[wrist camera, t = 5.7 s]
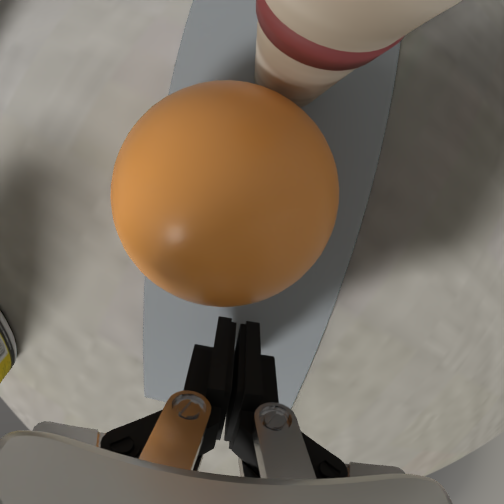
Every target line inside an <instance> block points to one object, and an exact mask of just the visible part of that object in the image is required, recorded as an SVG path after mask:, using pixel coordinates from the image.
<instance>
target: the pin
mask: <svg viewBox="0 0 504 504" xmlns="http://www.w3.org/2000/svg"><path fill="white" fill-rule="evenodd" d="M460 1H462V0H256V15H257V19H258V22H257V39H256V55H255V72H254V79H255V84H257V85H261V86H264V87H266V88H269V89H271V90H273V91H276V92H278V93H280V94H281V95H283V96H285V97H286V98H288V99H290V100H291V101H292V102H294V103H295V104H296V105H297V106H299V107H300V108H301V107H304V106H306V105H308V104H309V103H311V102H312V101H313V100H315V99H316V98H317V97H319V96H320V95H321V94H322V93H324V92H325V91H326V90H328V89H329V88H330V87H332V86H333V85H334V84H336V83H337V82H338V81H340V80H341V79H342V78H344V77H345V76H347V75H348V74H349V73H351V72H352V71H353V70H355V69H356V68H359V67H361V66H364V65H366V64H367V63H369V62H371V61H372V60H374V59H375V58H377V57H378V56H380V55H381V54H383V53H384V52H386V51H387V50H389V49H391V48H392V47H394V46H395V45H396V44H398V43H399V42H400V41H401V40H402V39H403V37H404V36H405V35H406V34H408V33H409V32H411V31H412V30H414V29H416V28H417V27H419V26H420V25H422V24H424V23H425V22H427V21H429V20H430V19H432V18H434V17H435V16H437V15H439V14H440V13H442V12H444V11H446V10H447V9H449V8H451V7H453V6H454V5H456V4H458V3H459V2H460Z"/></svg>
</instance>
